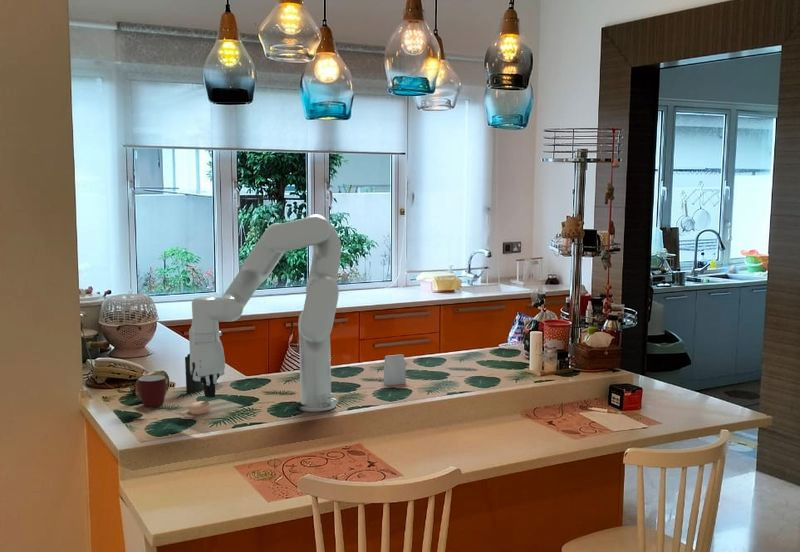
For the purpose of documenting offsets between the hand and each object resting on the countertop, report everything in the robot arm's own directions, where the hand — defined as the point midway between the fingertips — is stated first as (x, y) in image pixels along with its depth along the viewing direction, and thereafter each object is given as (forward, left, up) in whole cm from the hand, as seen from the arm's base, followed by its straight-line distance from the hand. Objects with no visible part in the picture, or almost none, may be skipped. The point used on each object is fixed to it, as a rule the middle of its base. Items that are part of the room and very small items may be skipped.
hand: (210, 396), depth 240 cm
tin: (+30, +2, -5) cm, 30 cm away
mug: (+18, +9, -5) cm, 21 cm away
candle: (+23, -10, -5) cm, 26 cm away
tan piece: (0, +1, -5) cm, 5 cm away
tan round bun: (0, +4, -5) cm, 6 cm away
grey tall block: (-19, -63, -5) cm, 66 cm away
